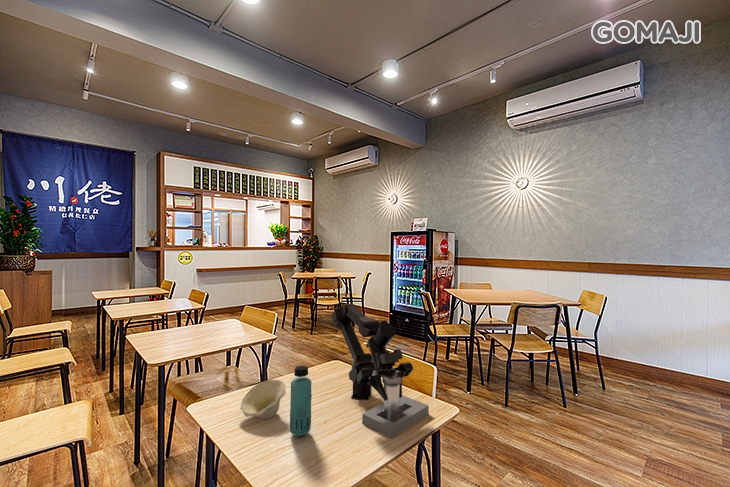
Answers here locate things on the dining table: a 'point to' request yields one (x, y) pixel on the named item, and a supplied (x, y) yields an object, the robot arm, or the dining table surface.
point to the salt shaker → (391, 396)
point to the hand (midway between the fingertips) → (393, 398)
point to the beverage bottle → (300, 402)
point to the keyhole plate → (408, 409)
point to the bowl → (263, 399)
